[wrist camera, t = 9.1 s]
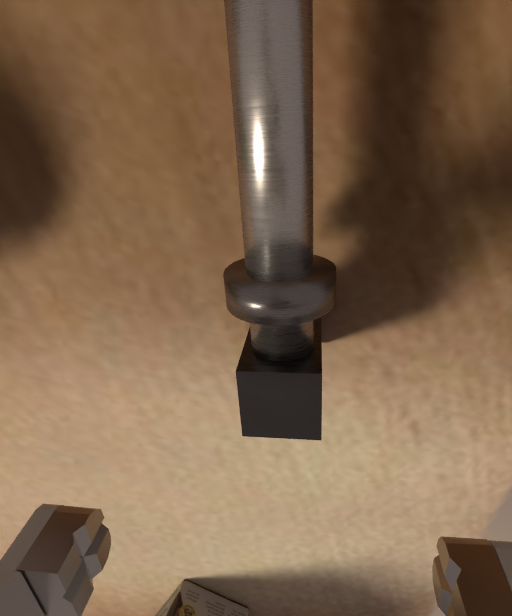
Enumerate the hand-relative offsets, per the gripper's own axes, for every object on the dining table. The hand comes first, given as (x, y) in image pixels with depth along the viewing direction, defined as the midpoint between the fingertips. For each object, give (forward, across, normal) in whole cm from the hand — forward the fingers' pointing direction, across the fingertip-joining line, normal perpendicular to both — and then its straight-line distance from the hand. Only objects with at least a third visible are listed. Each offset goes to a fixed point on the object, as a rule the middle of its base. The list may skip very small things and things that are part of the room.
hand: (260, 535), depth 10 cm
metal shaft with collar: (+12, 0, -8) cm, 14 cm away
